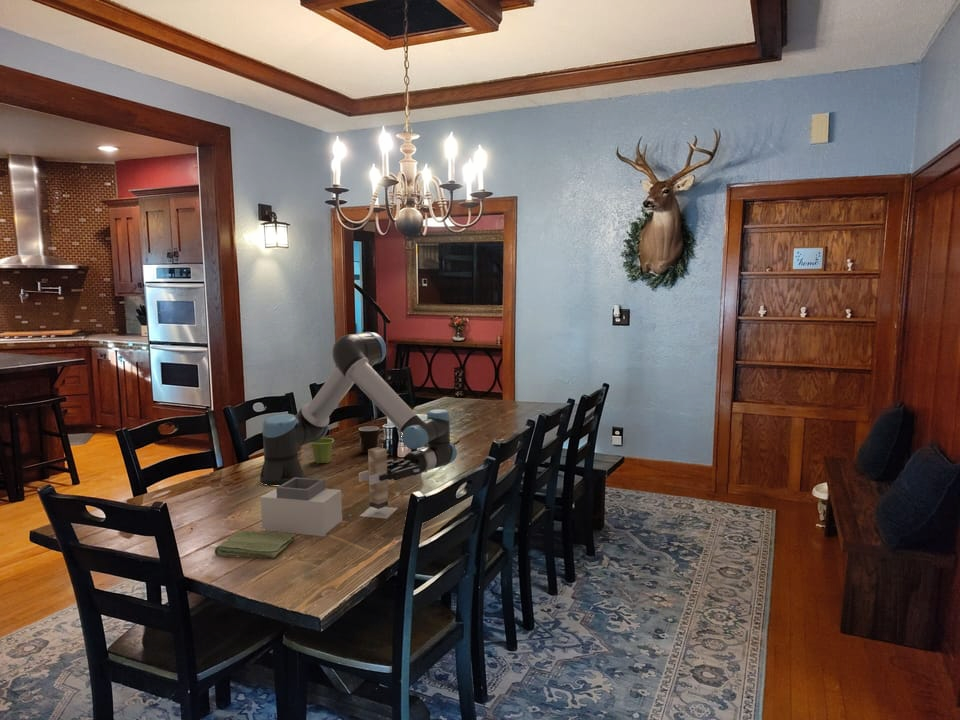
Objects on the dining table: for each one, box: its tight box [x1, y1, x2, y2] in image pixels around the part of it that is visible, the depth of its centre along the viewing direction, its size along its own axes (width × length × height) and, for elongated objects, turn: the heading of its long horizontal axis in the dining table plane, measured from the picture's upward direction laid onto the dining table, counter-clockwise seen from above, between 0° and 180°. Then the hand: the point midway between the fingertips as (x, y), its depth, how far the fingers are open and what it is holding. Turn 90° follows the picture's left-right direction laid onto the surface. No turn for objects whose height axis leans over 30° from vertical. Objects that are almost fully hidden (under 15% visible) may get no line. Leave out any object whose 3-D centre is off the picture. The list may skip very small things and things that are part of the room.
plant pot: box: [310, 437, 335, 464], centre depth 250 cm, size 9×9×9 cm
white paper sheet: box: [359, 506, 399, 520], centre depth 193 cm, size 9×9×1 cm
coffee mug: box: [358, 425, 380, 454], centre depth 266 cm, size 12×9×10 cm
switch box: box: [260, 477, 343, 537], centre depth 183 cm, size 20×11×13 cm, turn 76°
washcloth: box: [214, 530, 295, 559], centre depth 169 cm, size 13×18×3 cm
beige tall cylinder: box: [367, 446, 389, 509], centre depth 192 cm, size 4×4×18 cm
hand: (364, 478), depth 188 cm, fingers closed on beige tall cylinder, 4 cm apart
